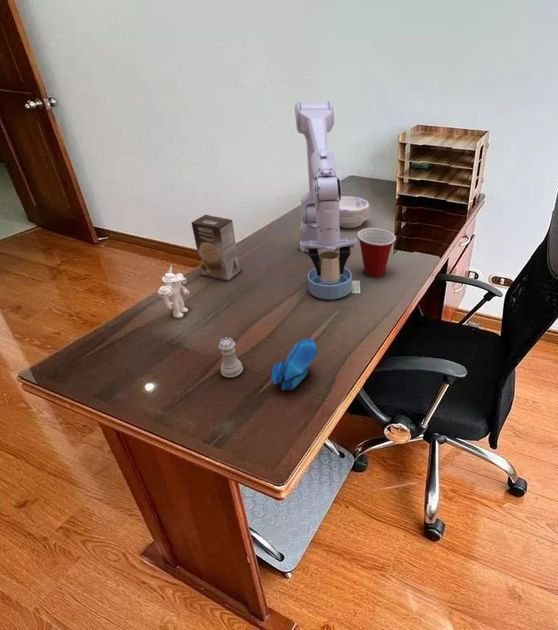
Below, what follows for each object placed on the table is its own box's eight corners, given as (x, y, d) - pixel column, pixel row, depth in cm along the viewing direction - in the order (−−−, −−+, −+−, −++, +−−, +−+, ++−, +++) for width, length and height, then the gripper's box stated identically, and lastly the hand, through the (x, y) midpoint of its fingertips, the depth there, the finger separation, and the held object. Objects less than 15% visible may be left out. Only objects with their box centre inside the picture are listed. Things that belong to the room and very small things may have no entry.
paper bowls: (376, 221, 162) (377, 200, 158) (353, 235, 151) (353, 213, 147) (343, 213, 169) (343, 192, 164) (318, 225, 158) (317, 203, 154)
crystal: (258, 368, 82) (290, 324, 89) (269, 394, 88) (298, 351, 96) (292, 379, 79) (322, 333, 87) (301, 405, 86) (329, 360, 93)
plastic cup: (390, 283, 124) (392, 244, 117) (353, 278, 125) (353, 240, 119) (396, 266, 133) (398, 229, 126) (361, 262, 134) (362, 225, 128)
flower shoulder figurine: (182, 302, 113) (172, 261, 106) (196, 304, 112) (186, 262, 106) (162, 322, 105) (149, 278, 99) (177, 324, 105) (165, 280, 98)
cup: (315, 278, 118) (314, 255, 114) (329, 271, 121) (328, 248, 117) (330, 285, 115) (329, 261, 111) (344, 278, 119) (344, 254, 115)
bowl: (299, 290, 119) (298, 276, 117) (329, 274, 127) (329, 261, 125) (331, 305, 113) (330, 291, 111) (360, 288, 121) (360, 274, 118)
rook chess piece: (223, 365, 93) (216, 334, 88) (244, 364, 93) (239, 334, 89) (219, 379, 89) (212, 348, 85) (241, 378, 89) (235, 347, 85)
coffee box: (200, 275, 125) (189, 222, 116) (214, 265, 130) (204, 214, 121) (228, 281, 123) (218, 227, 114) (241, 271, 128) (232, 218, 119)
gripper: (299, 233, 105) (303, 282, 113) (359, 229, 108) (358, 278, 115) (298, 222, 111) (301, 269, 119) (354, 219, 113) (354, 266, 121)
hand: (329, 273), depth 117 cm, fingers closed on cup, 5 cm apart
